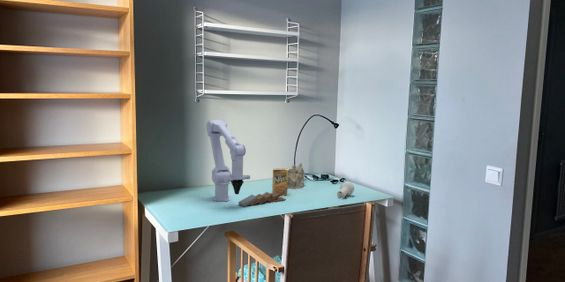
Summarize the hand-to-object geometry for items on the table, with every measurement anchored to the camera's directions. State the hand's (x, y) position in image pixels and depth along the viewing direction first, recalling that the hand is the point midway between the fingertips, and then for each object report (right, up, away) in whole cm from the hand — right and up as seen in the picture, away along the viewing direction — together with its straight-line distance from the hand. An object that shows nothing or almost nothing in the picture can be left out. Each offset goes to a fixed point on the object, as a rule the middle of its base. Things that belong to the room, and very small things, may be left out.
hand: (236, 193), depth 219 cm
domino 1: (+2, -6, +2) cm, 7 cm away
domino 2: (+6, -6, +5) cm, 10 cm away
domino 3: (+10, -5, +8) cm, 14 cm away
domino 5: (+17, -6, +13) cm, 22 cm away
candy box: (+22, -4, +28) cm, 36 cm away
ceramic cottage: (+30, -1, +51) cm, 59 cm away
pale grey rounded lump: (+60, -6, +30) cm, 68 cm away
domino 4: (+15, -5, +12) cm, 19 cm away
